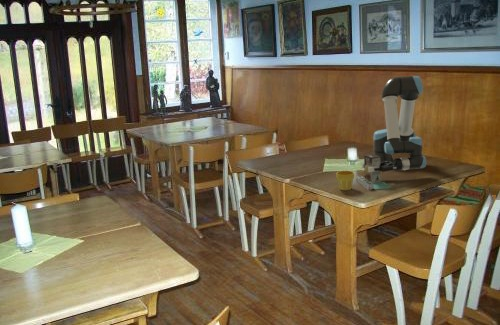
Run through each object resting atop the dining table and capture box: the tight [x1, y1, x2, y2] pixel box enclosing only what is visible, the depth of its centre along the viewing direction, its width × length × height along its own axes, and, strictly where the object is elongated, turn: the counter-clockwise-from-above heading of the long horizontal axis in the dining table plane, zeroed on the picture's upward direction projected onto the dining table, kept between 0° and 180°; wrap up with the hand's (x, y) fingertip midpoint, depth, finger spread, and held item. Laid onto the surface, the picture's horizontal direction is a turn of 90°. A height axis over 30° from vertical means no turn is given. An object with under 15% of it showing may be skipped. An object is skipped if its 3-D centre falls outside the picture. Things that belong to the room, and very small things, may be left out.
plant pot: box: [335, 170, 355, 191], centre depth 295 cm, size 10×10×10 cm
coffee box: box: [363, 153, 381, 183], centre depth 305 cm, size 9×6×16 cm
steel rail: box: [356, 175, 375, 191], centre depth 300 cm, size 3×20×3 cm, turn 8°
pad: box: [372, 181, 392, 191], centre depth 296 cm, size 10×12×1 cm
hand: (365, 167), depth 304 cm, fingers closed on coffee box, 10 cm apart
